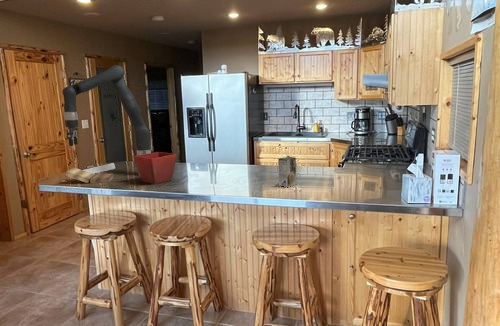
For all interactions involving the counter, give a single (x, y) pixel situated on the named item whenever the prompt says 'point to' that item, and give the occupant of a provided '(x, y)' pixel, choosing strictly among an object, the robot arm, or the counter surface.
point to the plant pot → (155, 166)
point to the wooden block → (101, 178)
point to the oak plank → (79, 175)
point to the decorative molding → (101, 168)
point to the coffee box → (287, 171)
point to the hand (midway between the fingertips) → (73, 145)
